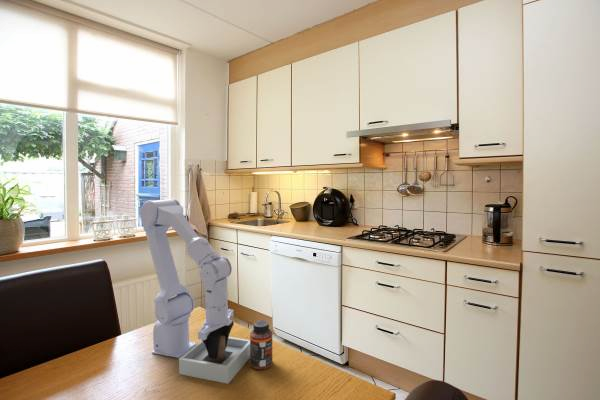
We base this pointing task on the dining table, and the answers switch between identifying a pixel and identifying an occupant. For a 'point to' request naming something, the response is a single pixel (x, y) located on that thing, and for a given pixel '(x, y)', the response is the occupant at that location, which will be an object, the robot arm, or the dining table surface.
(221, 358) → the peg
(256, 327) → the supplement bottle
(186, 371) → the bore box
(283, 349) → the dining table surface
